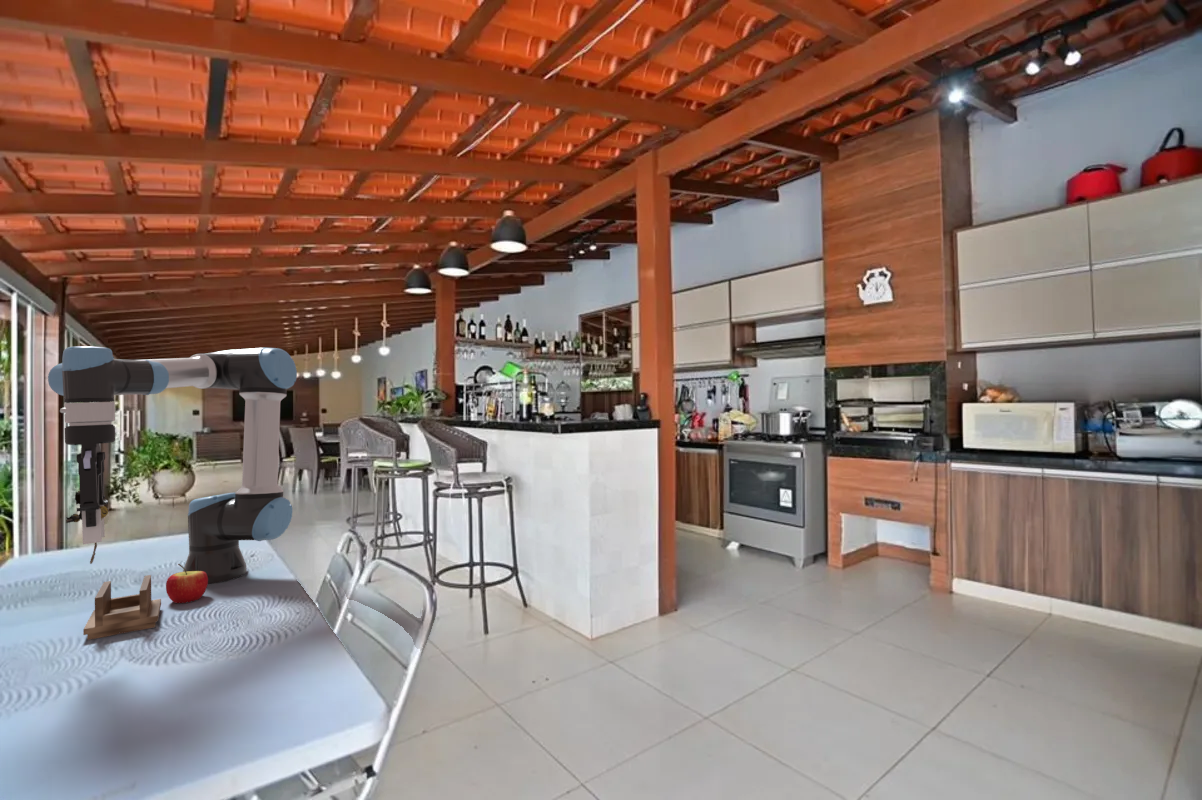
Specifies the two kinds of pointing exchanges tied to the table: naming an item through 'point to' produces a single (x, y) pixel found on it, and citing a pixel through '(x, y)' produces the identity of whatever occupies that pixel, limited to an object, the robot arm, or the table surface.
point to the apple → (186, 586)
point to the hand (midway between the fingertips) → (94, 540)
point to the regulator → (77, 518)
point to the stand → (122, 612)
